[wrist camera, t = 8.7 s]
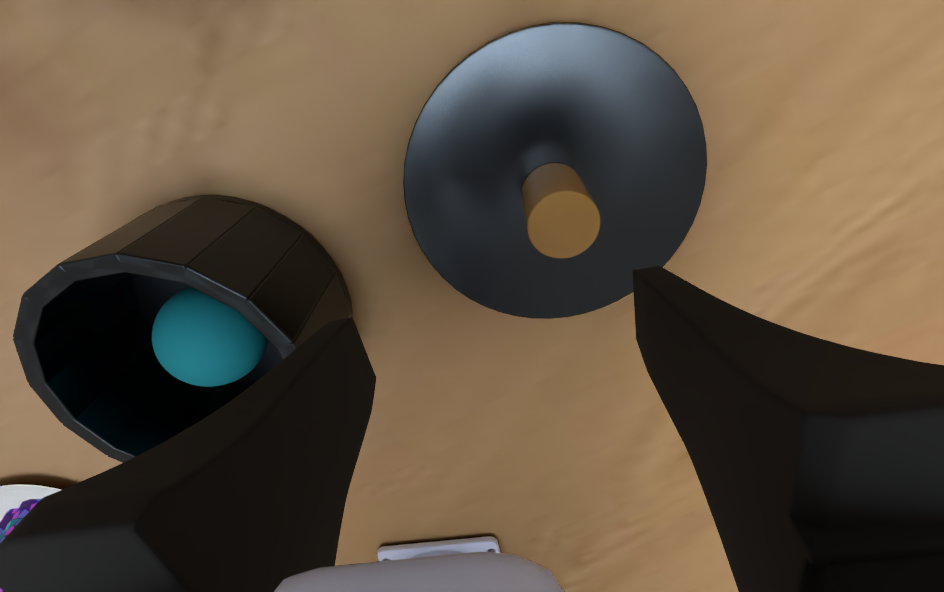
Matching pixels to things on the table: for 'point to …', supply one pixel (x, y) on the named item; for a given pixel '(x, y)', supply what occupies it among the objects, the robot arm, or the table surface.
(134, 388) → the black pot
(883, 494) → the robot arm
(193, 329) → the ball
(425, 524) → the table surface
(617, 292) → the pot lid
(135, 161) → the table surface
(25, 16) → the table surface
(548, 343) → the table surface
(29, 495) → the pudding
